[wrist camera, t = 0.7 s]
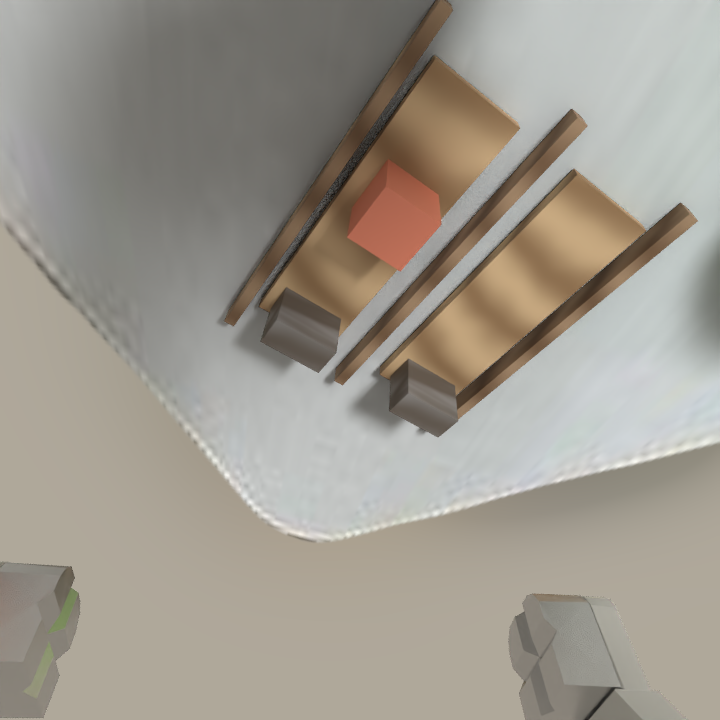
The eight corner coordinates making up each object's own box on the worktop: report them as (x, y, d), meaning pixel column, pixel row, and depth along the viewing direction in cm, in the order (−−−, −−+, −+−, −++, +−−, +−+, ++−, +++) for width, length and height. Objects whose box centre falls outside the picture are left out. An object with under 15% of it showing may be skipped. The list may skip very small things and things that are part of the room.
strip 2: (573, 168, 45) (593, 203, 41) (641, 223, 48) (667, 262, 43) (380, 366, 60) (377, 409, 55) (440, 400, 63) (442, 444, 58)
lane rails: (439, -6, 38) (440, -1, 37) (688, 209, 47) (697, 220, 45) (229, 308, 56) (224, 321, 55) (436, 423, 65) (437, 436, 63)
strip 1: (434, 54, 41) (437, 79, 36) (517, 122, 43) (531, 154, 39) (261, 299, 55) (247, 339, 51) (331, 339, 58) (324, 381, 53)
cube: (388, 158, 45) (386, 186, 41) (438, 195, 46) (441, 224, 42) (352, 207, 47) (347, 237, 44) (400, 240, 49) (400, 271, 45)
